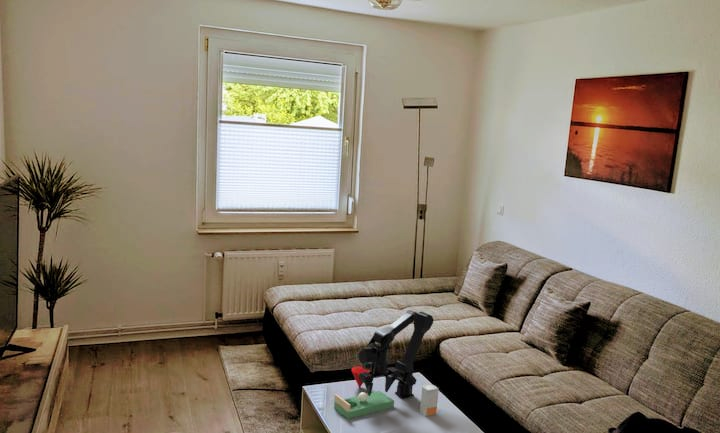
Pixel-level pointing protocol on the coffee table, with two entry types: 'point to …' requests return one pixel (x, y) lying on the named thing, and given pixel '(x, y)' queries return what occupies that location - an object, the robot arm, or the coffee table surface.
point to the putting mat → (362, 404)
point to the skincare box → (429, 400)
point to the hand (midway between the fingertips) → (377, 393)
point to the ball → (362, 397)
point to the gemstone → (357, 371)
